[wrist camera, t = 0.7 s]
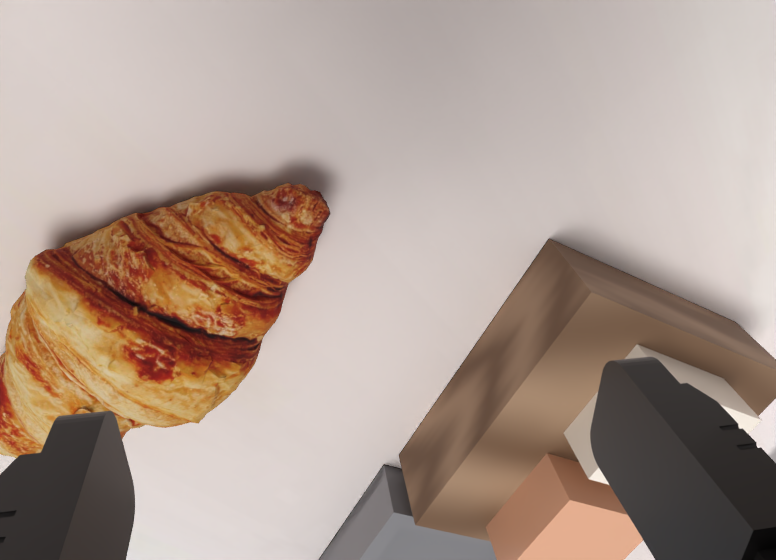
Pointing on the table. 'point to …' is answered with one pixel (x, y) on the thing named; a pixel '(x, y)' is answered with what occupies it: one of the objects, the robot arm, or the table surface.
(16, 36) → the table surface
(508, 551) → the terracotta tile
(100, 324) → the croissant
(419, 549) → the box
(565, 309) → the wood grain slab
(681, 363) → the cream tile
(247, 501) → the table surface
